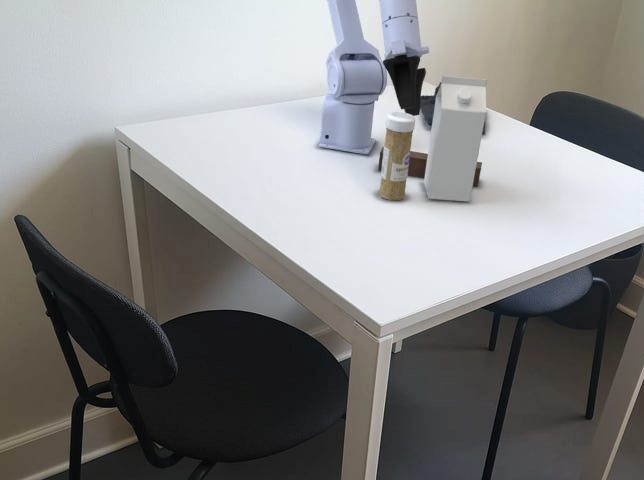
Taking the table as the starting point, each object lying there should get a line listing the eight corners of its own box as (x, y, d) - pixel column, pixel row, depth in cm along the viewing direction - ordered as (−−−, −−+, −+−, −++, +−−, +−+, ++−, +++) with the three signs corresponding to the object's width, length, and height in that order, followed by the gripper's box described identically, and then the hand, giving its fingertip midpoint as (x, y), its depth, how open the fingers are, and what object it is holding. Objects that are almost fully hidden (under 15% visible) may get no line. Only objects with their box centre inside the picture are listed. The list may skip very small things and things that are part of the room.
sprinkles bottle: (400, 203, 118) (411, 122, 110) (374, 197, 119) (383, 116, 111) (408, 193, 122) (418, 114, 114) (382, 187, 123) (391, 108, 115)
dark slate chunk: (413, 130, 147) (416, 107, 145) (417, 98, 165) (420, 77, 162) (487, 139, 147) (491, 116, 144) (483, 107, 165) (487, 85, 162)
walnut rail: (377, 171, 128) (379, 152, 126) (380, 165, 131) (382, 146, 129) (477, 187, 127) (481, 168, 125) (478, 180, 129) (482, 162, 127)
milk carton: (423, 183, 126) (439, 70, 115) (463, 186, 126) (483, 74, 116) (428, 199, 120) (445, 81, 109) (469, 202, 121) (491, 85, 110)
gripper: (420, 3, 105) (431, 100, 107) (429, 30, 119) (438, 114, 121) (373, 12, 106) (384, 107, 108) (387, 37, 120) (397, 121, 122)
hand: (410, 112), depth 115 cm, fingers open, 7 cm apart
